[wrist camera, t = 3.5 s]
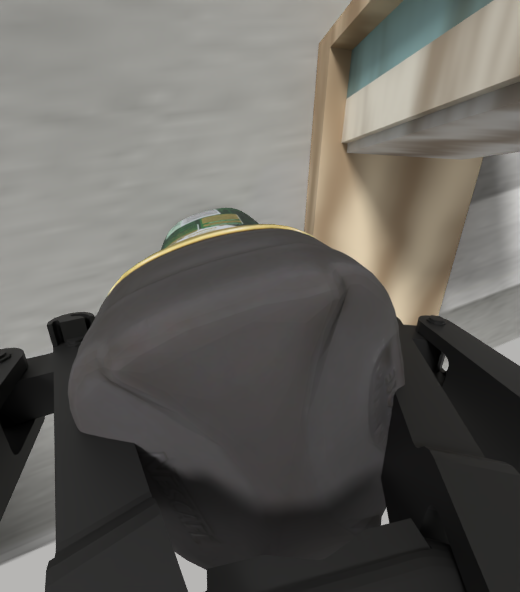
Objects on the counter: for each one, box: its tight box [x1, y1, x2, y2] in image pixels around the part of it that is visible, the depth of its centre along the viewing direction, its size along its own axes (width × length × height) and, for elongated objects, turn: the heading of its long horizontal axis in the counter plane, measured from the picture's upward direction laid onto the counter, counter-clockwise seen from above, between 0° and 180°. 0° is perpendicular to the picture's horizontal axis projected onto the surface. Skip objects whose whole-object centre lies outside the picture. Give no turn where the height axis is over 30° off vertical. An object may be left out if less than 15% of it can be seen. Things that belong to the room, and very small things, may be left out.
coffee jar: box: [68, 208, 405, 570], centre depth 14 cm, size 10×8×19 cm
